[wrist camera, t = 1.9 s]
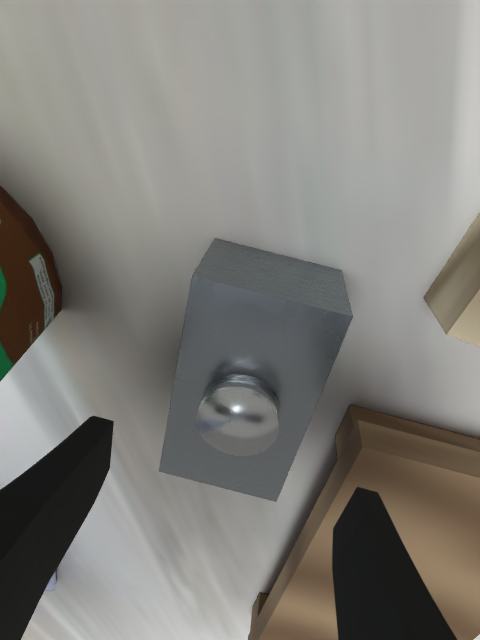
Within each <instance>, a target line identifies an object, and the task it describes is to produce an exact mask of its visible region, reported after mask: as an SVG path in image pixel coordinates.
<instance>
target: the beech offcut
mask: <svg viewBox="0 0 480 640" xmlns="http://www.w3.org/2000/svg"><path fill="white" fill-rule="evenodd" d="M424 299H425V301H426V303H427V304H428V306H429V307H430V309H431V311H432V312H433V314H434V315H435V317H436V319H437V320H438V322H439V323H440V325H441V327H442V328H443V330H444V331H445V333H446V335H449V336H451V337H454V338H457V339H459V340H462V341H465V342H467V343H470V344H473V345H475V346H478V347H480V213H479V214H478V216H477V217H476V219H475V220H474V222H473V223H472V225H471V226H470V228H469V229H468V231H467V232H466V234H465V235H464V237H463V238H462V240H461V242H460V243H459V245H458V246H457V248H456V249H455V251H454V252H453V254H452V255H451V257H450V258H449V260H448V261H447V263H446V264H445V266H444V267H443V269H442V270H441V272H440V273H439V275H438V276H437V278H436V279H435V281H434V283H433V284H432V286H431V287H430V289H429V290H428V292H427V293H426V295H425V296H424Z"/></svg>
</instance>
